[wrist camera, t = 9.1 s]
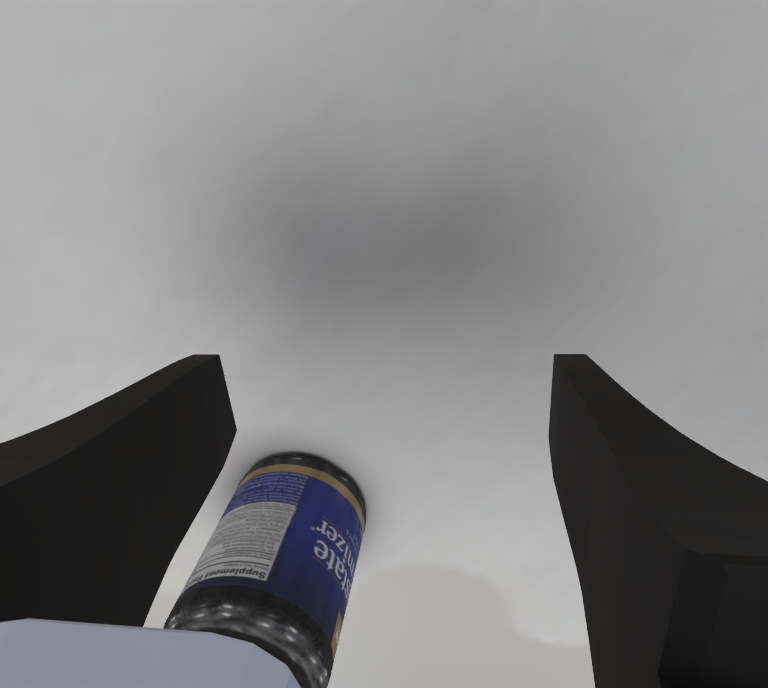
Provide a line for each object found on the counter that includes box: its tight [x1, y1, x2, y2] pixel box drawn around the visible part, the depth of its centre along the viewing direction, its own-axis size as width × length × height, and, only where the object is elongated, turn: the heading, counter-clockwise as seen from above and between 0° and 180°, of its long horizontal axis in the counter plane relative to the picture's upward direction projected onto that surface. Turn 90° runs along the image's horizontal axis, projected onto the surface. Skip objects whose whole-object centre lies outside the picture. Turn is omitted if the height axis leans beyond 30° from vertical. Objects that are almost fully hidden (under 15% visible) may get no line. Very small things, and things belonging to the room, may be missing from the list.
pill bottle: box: [163, 455, 366, 688], centre depth 22 cm, size 6×6×11 cm
